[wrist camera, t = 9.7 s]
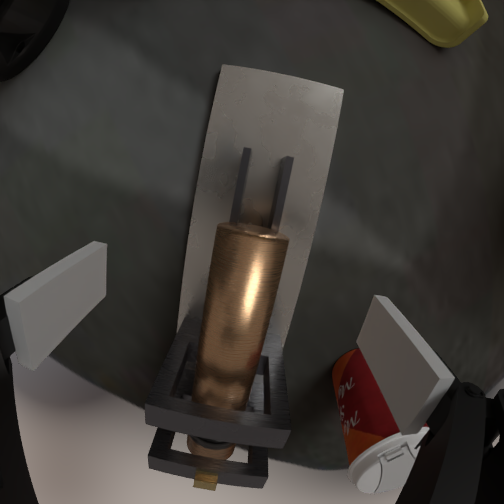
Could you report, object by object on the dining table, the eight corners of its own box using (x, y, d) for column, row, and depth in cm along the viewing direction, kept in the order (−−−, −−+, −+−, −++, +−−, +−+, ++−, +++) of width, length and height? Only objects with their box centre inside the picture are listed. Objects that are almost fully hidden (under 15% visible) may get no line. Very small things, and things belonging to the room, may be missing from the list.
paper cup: (311, 359, 28) (338, 473, 15) (380, 326, 27) (445, 423, 14) (335, 405, 30) (362, 505, 16) (395, 376, 29) (445, 466, 15)
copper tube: (220, 218, 20) (210, 231, 16) (287, 231, 20) (295, 248, 16) (190, 422, 25) (182, 457, 21) (236, 431, 25) (233, 466, 21)
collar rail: (223, 67, 21) (191, -22, 8) (341, 92, 22) (415, 28, 9) (173, 388, 30) (140, 485, 17) (263, 405, 30) (264, 508, 17)
